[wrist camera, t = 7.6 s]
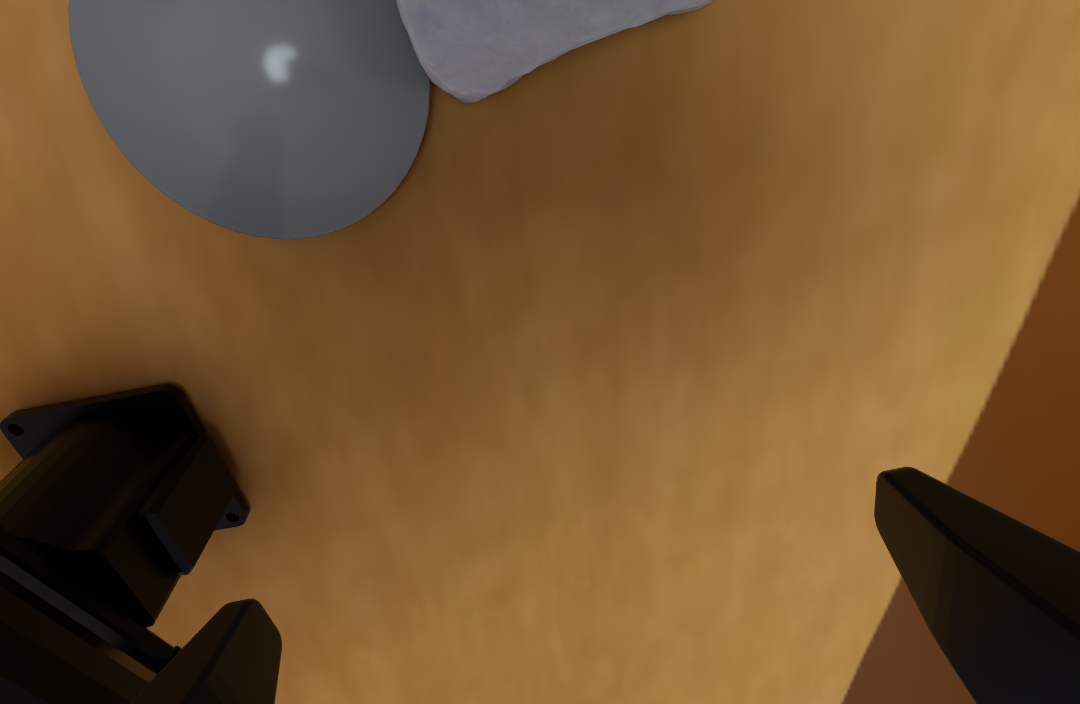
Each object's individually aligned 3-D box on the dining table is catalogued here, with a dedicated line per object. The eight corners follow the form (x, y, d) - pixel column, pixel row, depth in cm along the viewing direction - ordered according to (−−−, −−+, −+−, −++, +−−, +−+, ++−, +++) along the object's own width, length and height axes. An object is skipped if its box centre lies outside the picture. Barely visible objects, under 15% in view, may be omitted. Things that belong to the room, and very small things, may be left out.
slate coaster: (185, 254, 20) (173, 264, 19) (14, -90, 15) (-10, -94, 14) (465, 200, 19) (463, 208, 18) (373, -172, 15) (366, -181, 14)
